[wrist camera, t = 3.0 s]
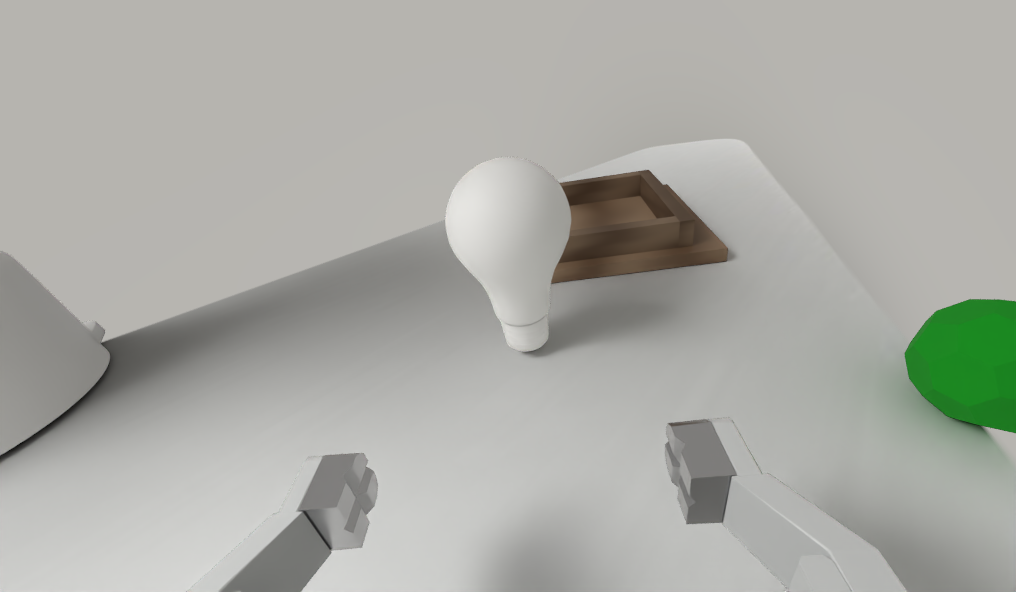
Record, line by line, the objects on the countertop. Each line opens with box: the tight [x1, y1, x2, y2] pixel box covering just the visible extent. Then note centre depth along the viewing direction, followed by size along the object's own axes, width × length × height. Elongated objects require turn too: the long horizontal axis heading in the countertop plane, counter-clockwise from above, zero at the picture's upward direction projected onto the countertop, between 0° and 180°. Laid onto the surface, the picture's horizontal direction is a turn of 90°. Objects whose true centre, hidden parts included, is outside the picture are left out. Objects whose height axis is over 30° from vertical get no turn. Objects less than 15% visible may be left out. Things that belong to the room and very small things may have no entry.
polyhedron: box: [905, 299, 1016, 433], centre depth 16 cm, size 5×5×5 cm
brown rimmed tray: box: [551, 170, 728, 283], centre depth 36 cm, size 16×14×3 cm
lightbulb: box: [445, 157, 571, 352], centre depth 22 cm, size 6×6×11 cm
